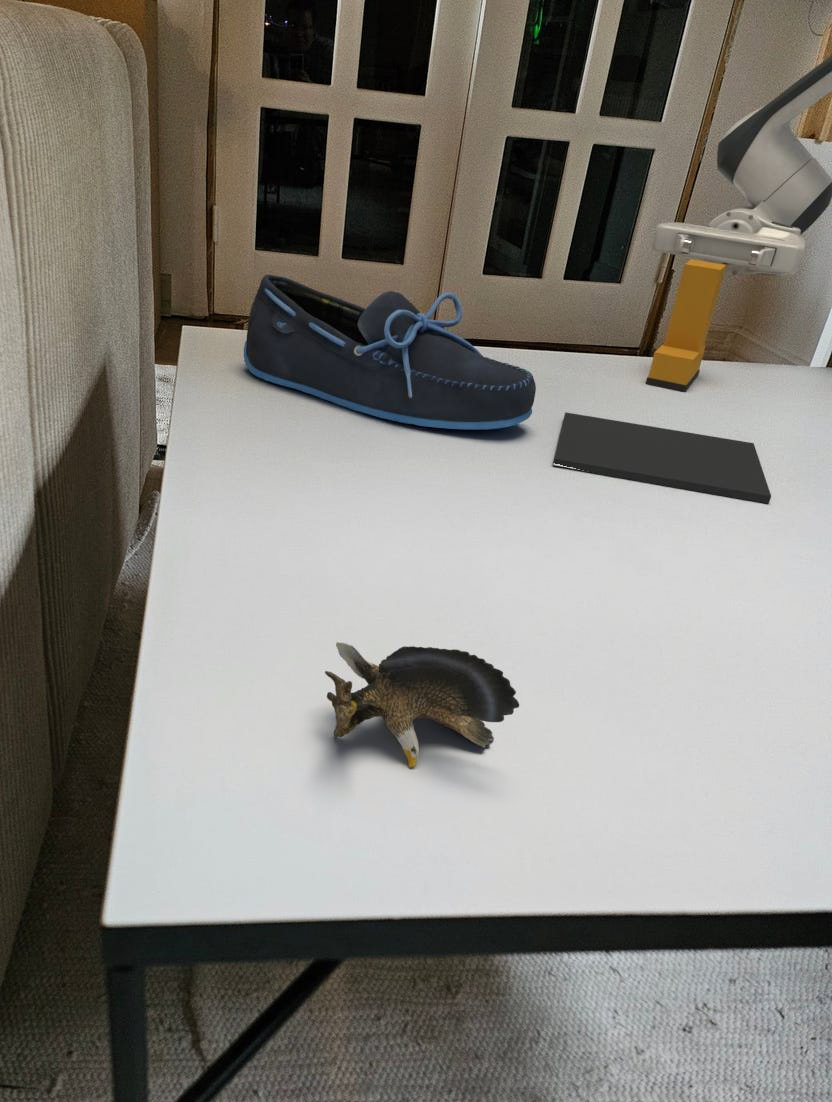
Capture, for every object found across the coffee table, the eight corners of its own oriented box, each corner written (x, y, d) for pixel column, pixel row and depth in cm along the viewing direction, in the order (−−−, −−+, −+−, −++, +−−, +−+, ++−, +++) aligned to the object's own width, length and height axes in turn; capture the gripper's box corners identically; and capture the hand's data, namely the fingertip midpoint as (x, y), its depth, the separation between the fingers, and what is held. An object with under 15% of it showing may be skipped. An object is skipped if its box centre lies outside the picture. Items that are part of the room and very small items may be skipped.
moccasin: (505, 455, 92) (527, 332, 86) (203, 384, 103) (204, 271, 97) (542, 419, 103) (564, 308, 97) (266, 359, 114) (270, 256, 108)
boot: (661, 367, 128) (689, 258, 121) (698, 375, 126) (729, 265, 119) (645, 383, 120) (674, 267, 113) (685, 391, 118) (717, 274, 111)
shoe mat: (751, 450, 100) (753, 443, 100) (768, 504, 87) (771, 496, 86) (563, 419, 104) (565, 412, 103) (552, 466, 90) (554, 458, 90)
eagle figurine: (354, 791, 45) (532, 752, 46) (325, 645, 45) (504, 609, 46) (336, 771, 53) (489, 738, 54) (312, 646, 53) (465, 616, 54)
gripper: (668, 208, 140) (648, 215, 129) (813, 230, 133) (805, 239, 122) (656, 253, 143) (637, 264, 132) (797, 277, 136) (789, 290, 125)
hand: (719, 252), depth 127 cm, fingers open, 8 cm apart
